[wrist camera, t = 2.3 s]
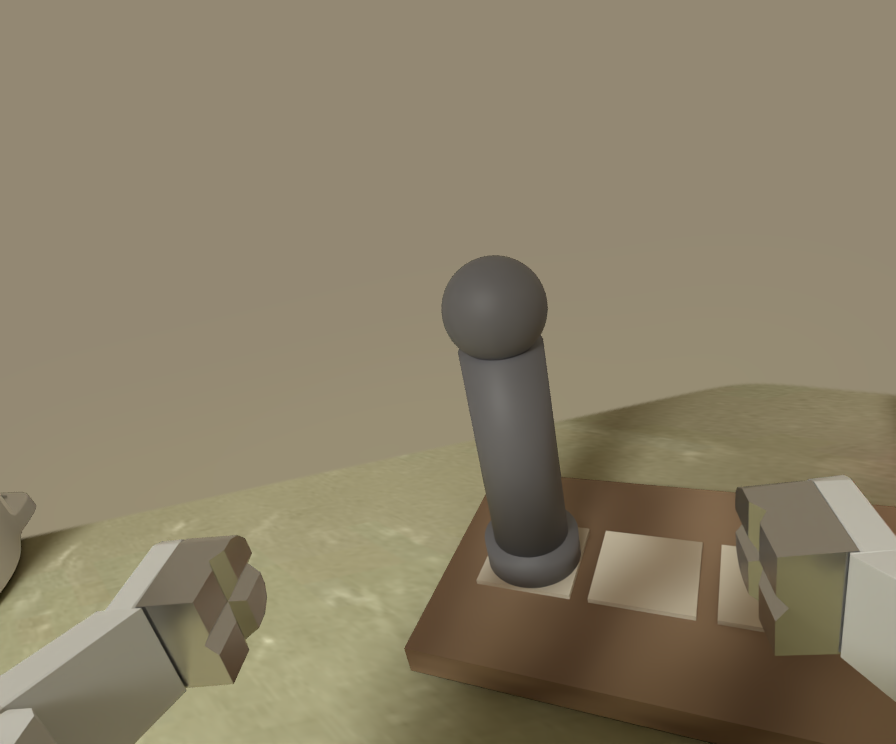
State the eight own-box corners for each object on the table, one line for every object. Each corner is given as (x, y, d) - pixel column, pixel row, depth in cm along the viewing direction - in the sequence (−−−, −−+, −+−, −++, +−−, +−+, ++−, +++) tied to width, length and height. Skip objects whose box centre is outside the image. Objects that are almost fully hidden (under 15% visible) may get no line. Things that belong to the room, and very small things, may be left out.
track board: (411, 670, 24) (403, 644, 24) (501, 490, 33) (497, 468, 33) (1432, 916, 14) (1464, 882, 13) (1168, 558, 23) (1181, 527, 22)
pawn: (476, 579, 26) (410, 281, 20) (505, 518, 29) (454, 243, 23) (569, 595, 24) (524, 276, 19) (589, 528, 27) (556, 236, 22)
